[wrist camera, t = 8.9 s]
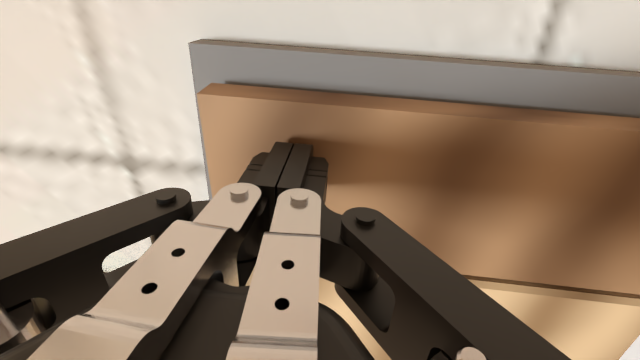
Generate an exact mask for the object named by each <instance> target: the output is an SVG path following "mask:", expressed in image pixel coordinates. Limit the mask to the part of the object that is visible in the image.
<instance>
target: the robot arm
mask: <svg viewBox="0 0 640 360" xmlns="http://www.w3.org/2000/svg"><path fill="white" fill-rule="evenodd" d="M328 167H329V164H328V162H327V161H326V159H325V158H323V157H313V145H310V144H299V143H295V144H294V143H287V142H275V144H274V146H273V147H272V149H271V151H270V153H268V152H261V153H259V154H258V155H256V156H254V157H253V158H252V160H251V161H250V163H249V165H248V166H247V168H246V170H245V171H244V173H243V174H242V176H241V177H240V179H239V181H238V182H237V183H234V184H230V185H227V186H225V187H223V188H221V189H220V190H219V191H218V192H217V194H216V195H215V196H214V197H213V198H212V199H211V200H207V201H196V202H192V201H191V195H190V193H189V192H188V191H186V190H184V189H181V188H165V189H160V190H157V191H154V192H151V193H148V194H145V195H142V196H140V197H137V198H134V199H131V200H128V201H125V202H122V203H119V204H116V205H113V206H111V207H108V208H105V209H102V210H99V211H96V212H93V213H90V214H87V215H84V216H82V217H79V218H76V219H73V220H70V221H67V222H64V223H61V224H58V225H56V226H53V227H50V228H47V229H44V230H41V231H38V232H35V233H32V234H29V235H27V236H24V237H21V238H18V239H15V240H12V241H9V242H6V243H3V244H1V245H0V360H375V359H374V358H373V356H372V355H371V354H370V352H369V351H368V349H367V348H366V347H365V345H364V344H363V343H362V341H361V340H360V339H359V337H358V336H357V335H356V333H355V332H354V330H353V329H352V328H351V327H350V325H349V324H348V323H347V322H346V321H345V320H344V319H343V318H342V317H341V316H340V315H339V314H337V313H336V312H335V311H334V310H332V309H331V308H329V307H327V306H326V305H324V304H322V303H320V302H319V277H320V278H323V279H325V280H328V281H330V282H333V283H335V284H334V287H335V291H336V293H337V294H338V296H339V297H340V298H341V299H342V300H343V302H344V303H345V304H346V305H347V306H348V308H349V309H350V310H351V311H352V312H353V314H354V315H355V316H356V317H357V318H358V320H359V321H360V322H361V323H362V324H363V326H364V327H365V328H366V329H367V331H368V332H369V333H370V334H371V335H372V337H373V338H374V339H375V340H376V341H377V343H378V344H379V345H380V346H381V347H382V349H383V350H384V351H385V352H386V353H387V355H388V356H389V357H390V358H391V360H571V359H570V358H569V357H567V356H566V355H565V354H564V353H562V352H561V351H560V350H558V349H557V348H556V347H555V346H553V345H552V344H551V343H549V342H548V341H547V340H545V339H544V338H543V337H542V336H540V335H539V334H538V333H536V332H535V331H534V330H532V329H531V328H530V327H529V326H527V325H526V324H525V323H523V322H522V321H521V320H520V319H518V318H517V317H516V316H514V315H513V314H512V313H510V312H509V311H508V310H507V309H505V308H504V307H503V306H501V305H500V304H499V303H497V302H496V301H495V300H494V299H492V298H491V297H490V296H488V295H487V294H486V293H485V292H483V291H482V290H481V289H479V288H478V287H477V286H475V285H474V284H473V283H472V282H470V281H469V280H468V279H466V278H465V277H464V276H462V275H461V274H460V273H459V272H457V271H456V270H455V269H453V268H452V267H451V266H450V265H448V264H447V263H446V262H444V261H443V260H442V259H440V258H439V257H438V256H437V255H435V254H434V253H433V252H431V251H430V250H429V249H428V248H426V247H425V246H424V245H422V244H421V243H420V242H418V241H417V240H416V239H415V238H413V237H412V236H411V235H409V234H408V233H407V232H405V231H404V230H403V229H402V228H400V227H399V226H398V225H396V224H395V223H394V222H393V221H391V220H390V219H389V218H387V217H386V216H385V215H383V214H382V213H381V212H379V211H377V210H374V209H371V208H367V207H355V208H351V209H349V210H347V211H345V212H344V213H343V215H341V214H338V213H336V212H333V211H332V210H330V209H329V208H328V207H326V205H325V201H326V193H327V180H328ZM147 237H150V238H151V242H152V245H151V247H150V248H149V249H148V250H147V251H146V252H145V253H144V254H143V255H142V256H141V257H140V258H139V259H138V260H135V261H133V262H131V263H129V264H127V265H125V266H122V267H120V268H118V269H116V270H114V271H112V272H109V273H103V270H102V262H103V260H104V259H105V258H106V257H107V256H108V255H109V254H111V253H113V252H115V251H117V250H119V249H122V248H124V247H126V246H129V245H131V244H133V243H136V242H138V241H140V240H143V239H145V238H147ZM33 298H34V299H33Z"/></svg>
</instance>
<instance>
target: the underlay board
mask: <svg viewBox="0 0 640 360" xmlns="http://www.w3.org/2000/svg"><path fill="white" fill-rule="evenodd" d="M189 51H190V58H191V66H192V73H193V81H194V88H195V96H196V103H197V111H198V118H199V126H200V133H201V141H202V148H203V156H204V163H205V171H206V178H207V186H208V194H209V200H211V199H212V192H211V185H210V179H209V172H208V166H207V159H206V153H205V146H204V139H203V133H202V126H201V120H200V113H199V106H198V100H197V93H198V92H200V91H201V90H202V89H204V88H205V87H206V86H208V85H209V84H210V83H221V84H233V85H245V86H257V87H269V88H281V89H293V90H305V91H317V92H329V93H342V94H354V95H366V96H378V97H390V98H402V99H414V100H426V101H438V102H450V103H462V104H474V105H486V106H499V107H511V108H523V109H535V110H547V111H559V112H571V113H583V114H595V115H607V116H619V117H631V118H640V72H630V71H616V70H603V69H590V68H576V67H563V66H549V65H536V64H523V63H509V62H496V61H483V60H469V59H456V58H442V57H429V56H416V55H402V54H389V53H376V52H362V51H349V50H335V49H322V48H309V47H295V46H282V45H269V44H255V43H242V42H228V41H215V40H202V39H200V40H197V41H193V42H190V43H189Z"/></svg>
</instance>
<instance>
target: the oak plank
mask: <svg viewBox="0 0 640 360" xmlns="http://www.w3.org/2000/svg"><path fill="white" fill-rule="evenodd" d="M461 275H462V274H461ZM462 276H464V277H465V278H466V279H468V280H469V281H470V282H472V283H473V284H474V285H475V286H477V287H478V288H479V289H481V290H482V291H483V292H485V293H486V294H487V295H488V296H490V297H491V298H492V299H494V300H495V301H496V302H497V303H499V304H500V305H501V306H503V307H504V308H505V309H507V310H508V311H509V312H510V313H512V314H513V315H514V316H516V317H517V318H518V319H520V320H521V321H522V322H523V323H525V324H526V325H527V326H529V327H530V328H531V329H532V330H534V331H535V332H536V333H538V334H539V335H540V336H542V337H543V338H544V339H545V340H547V341H548V342H549V343H551V344H552V345H553V346H555V347H556V348H557V349H558V350H560V351H561V352H562V353H564V354H565V355H566V356H567V357H569V358H570V359H571V360H619V358H620V357H621V356H622V355H623V354H624V352H625V351H626V350H627V349H628V348H629V347H630V345H631V344H632V343H633V342H634V341H635V340H636V338H637V337H638V336H639V335H640V295H638V294H629V293H621V292H612V291H603V290H594V289H585V288H577V287H568V286H559V285H550V284H542V283H533V282H524V281H515V280H506V279H498V278H489V277H480V276H471V275H462ZM334 284H335V283H333V282H330V281H328V280H325V279H323V278H320V277H319V302H320V303H322V304H324V305H326V306H327V307H329V308H331V309H332V310H334V311H335V312H336V313H337V314H339V315H340V316H341V317H342V318H343V319H344V320H345V321H346V322H347V323H348V324H349V325H350V327H351V328H352V329H353V330H354V332H355V333H356V335H357V336H358V337H359V339H360V340H361V341H362V343H363V344H364V345H365V347H366V348H367V349H368V351H369V352H370V354H371V355H372V356H373V358H374V359H375V360H391V358H390V357H389V356H388V355H387V353H386V352H385V351H384V350H383V349H382V347H381V346H380V345H379V344H378V343H377V341H376V340H375V339H374V338H373V337H372V335H371V334H370V333H369V332H368V331H367V329H366V328H365V327H364V326H363V324H362V323H361V322H360V321H359V320H358V318H357V317H356V316H355V315H354V314H353V312H352V311H351V310H350V309H349V308H348V306H347V305H346V304H345V303H344V302H343V300H342V299H341V298H340V297H339V296H338V294H337V293H336V291H335V287H334Z"/></svg>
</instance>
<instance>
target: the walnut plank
mask: <svg viewBox="0 0 640 360" xmlns="http://www.w3.org/2000/svg"><path fill="white" fill-rule="evenodd" d="M197 100H198V106H199V113H200V120H201V126H202V133H203V139H204V146H205V153H206V159H207V166H208V172H209V179H210V185H211V192H212V198H213V197H214V196H215V195H216V194H217V192H218V191H219V190H220V189H221V188H223V187H225V186H227V185H230V184H234V183H237V182H238V181H239V179H240V177H241V176H242V174H243V173H244V171H245V170H246V168H247V166H248V165H249V163H250V161H251V160H252V158H253V157H254V156H256V155H258V154H259V153H261V152H268V153H270V151H271V149H272V147H273V146H274V144H275V142H287V143H294V144H295V143H299V144H310V145H313V157H323V158H325V159H326V161H327V162H328V164H329V167H328V180H327V193H326V201H325V205H326V207H328V208H329V209H330V210H332V211H333V212H336V213H338V214H341V215H343V213H344V212H345V211H347V210H349V209H351V208H355V207H367V208H371V209H374V210H377V211H379V212H381V213H382V214H383V215H385V216H386V217H387V218H389V219H390V220H391V221H393V222H394V223H395V224H396V225H398V226H399V227H400V228H402V229H403V230H404V231H405V232H407V233H408V234H409V235H411V236H412V237H413V238H415V239H416V240H417V241H418V242H420V243H421V244H422V245H424V246H425V247H426V248H428V249H429V250H430V251H431V252H433V253H434V254H435V255H437V256H438V257H439V258H440V259H442V260H443V261H444V262H446V263H447V264H448V265H450V266H451V267H452V268H453V269H455V270H456V271H457V272H459V273H460V274H462V275H471V276H480V277H489V278H498V279H506V280H515V281H524V282H533V283H542V284H550V285H559V286H568V287H577V288H585V289H594V290H603V291H612V292H621V293H629V294H638V295H640V118H631V117H619V116H607V115H595V114H583V113H571V112H559V111H547V110H535V109H523V108H511V107H499V106H486V105H474V104H462V103H450V102H438V101H426V100H414V99H402V98H390V97H378V96H366V95H354V94H342V93H329V92H317V91H305V90H293V89H281V88H269V87H257V86H245V85H233V84H221V83H210V84H209V85H208V86H206V87H205V88H204V89H202V90H201V91H200V92H198V93H197Z"/></svg>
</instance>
